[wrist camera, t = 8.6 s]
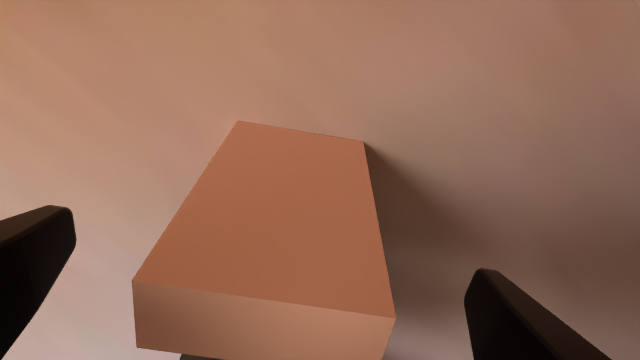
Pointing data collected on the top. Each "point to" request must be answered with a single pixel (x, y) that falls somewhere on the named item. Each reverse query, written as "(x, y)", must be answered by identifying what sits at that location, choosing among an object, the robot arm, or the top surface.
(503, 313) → the robot arm
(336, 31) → the top surface
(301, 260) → the terracotta domino
